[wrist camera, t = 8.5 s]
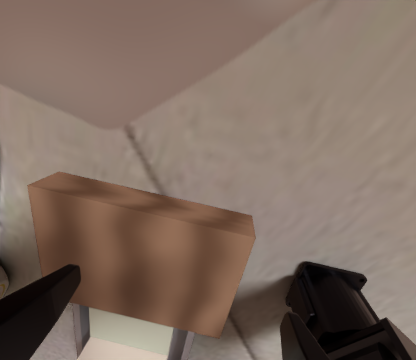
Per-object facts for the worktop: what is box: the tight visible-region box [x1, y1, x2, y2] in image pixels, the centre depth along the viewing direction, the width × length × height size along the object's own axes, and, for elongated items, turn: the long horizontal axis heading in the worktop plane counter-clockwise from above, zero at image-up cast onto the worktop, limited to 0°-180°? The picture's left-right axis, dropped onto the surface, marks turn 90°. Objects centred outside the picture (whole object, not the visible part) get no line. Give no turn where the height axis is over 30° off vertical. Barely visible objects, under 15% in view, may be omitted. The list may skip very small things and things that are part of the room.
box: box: [72, 303, 195, 360], centre depth 28 cm, size 15×15×3 cm
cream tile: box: [77, 336, 173, 360], centre depth 26 cm, size 10×6×2 cm
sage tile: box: [89, 307, 174, 356], centre depth 26 cm, size 10×6×2 cm, turn 78°
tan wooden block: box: [27, 172, 256, 339], centre depth 22 cm, size 20×14×4 cm
